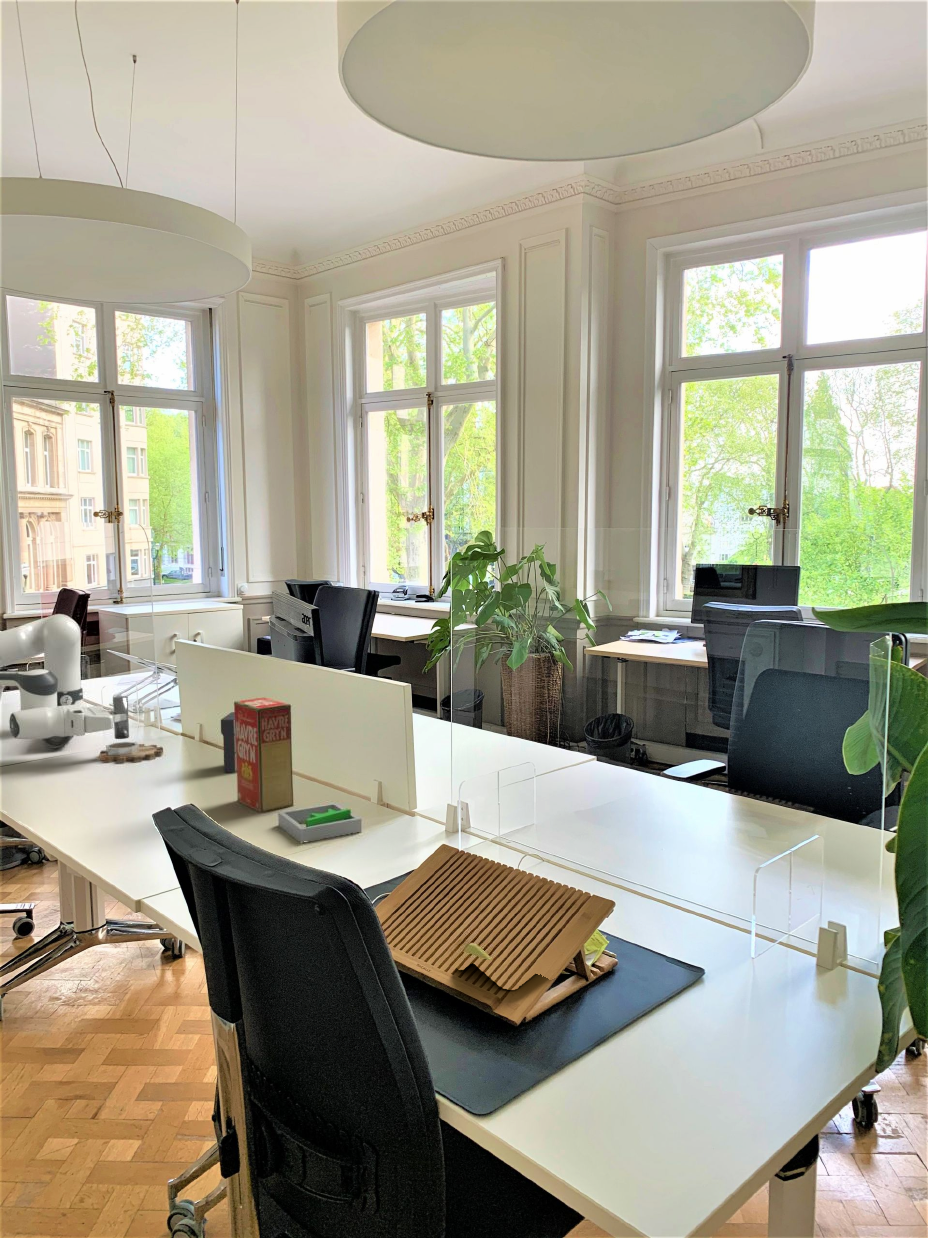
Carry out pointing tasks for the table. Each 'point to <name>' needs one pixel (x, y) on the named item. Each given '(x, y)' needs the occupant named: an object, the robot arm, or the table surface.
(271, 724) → the food packaging
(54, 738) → the bluetooth speaker
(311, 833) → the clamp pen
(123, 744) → the sprocket
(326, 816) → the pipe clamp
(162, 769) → the table surface
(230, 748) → the charcoal rounded block
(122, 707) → the pin
